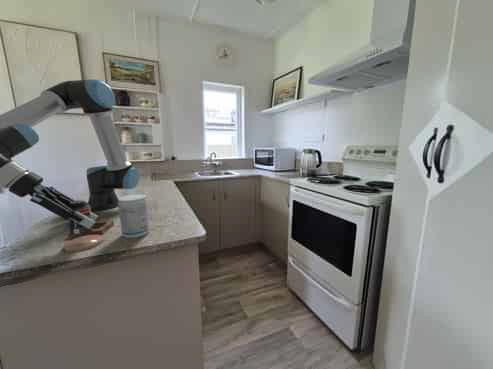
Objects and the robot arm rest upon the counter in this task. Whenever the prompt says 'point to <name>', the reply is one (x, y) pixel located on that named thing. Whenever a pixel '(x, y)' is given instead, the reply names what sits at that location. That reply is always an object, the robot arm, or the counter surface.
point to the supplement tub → (133, 215)
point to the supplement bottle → (75, 227)
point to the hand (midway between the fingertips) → (93, 222)
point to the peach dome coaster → (83, 243)
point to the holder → (104, 227)
